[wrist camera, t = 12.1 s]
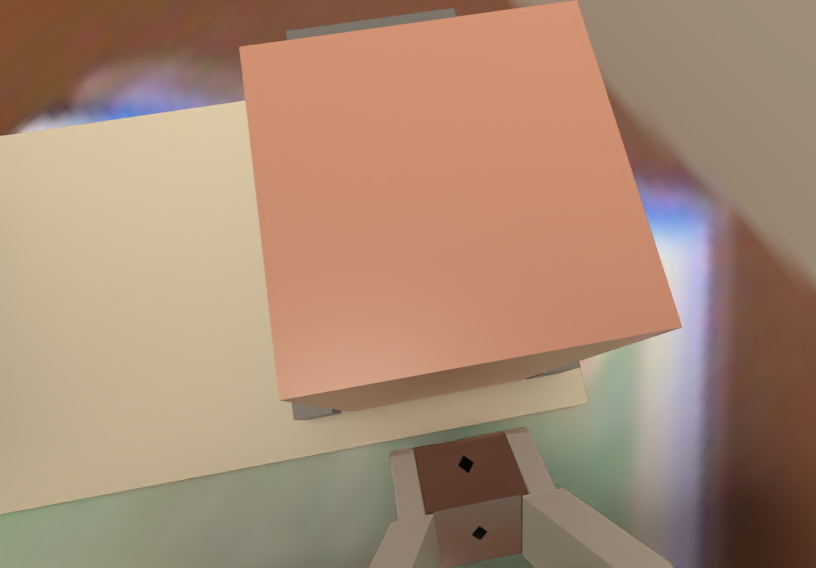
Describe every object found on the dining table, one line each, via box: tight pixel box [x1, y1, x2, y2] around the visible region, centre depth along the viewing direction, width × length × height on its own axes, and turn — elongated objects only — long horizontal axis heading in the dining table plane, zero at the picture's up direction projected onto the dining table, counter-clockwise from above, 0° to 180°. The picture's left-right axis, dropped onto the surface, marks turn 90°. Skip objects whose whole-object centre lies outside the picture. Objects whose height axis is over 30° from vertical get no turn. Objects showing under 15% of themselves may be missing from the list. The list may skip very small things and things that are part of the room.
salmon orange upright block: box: [239, 0, 682, 412], centre depth 11 cm, size 5×5×9 cm
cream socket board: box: [0, 8, 589, 514], centre depth 15 cm, size 12×26×4 cm, turn 100°
